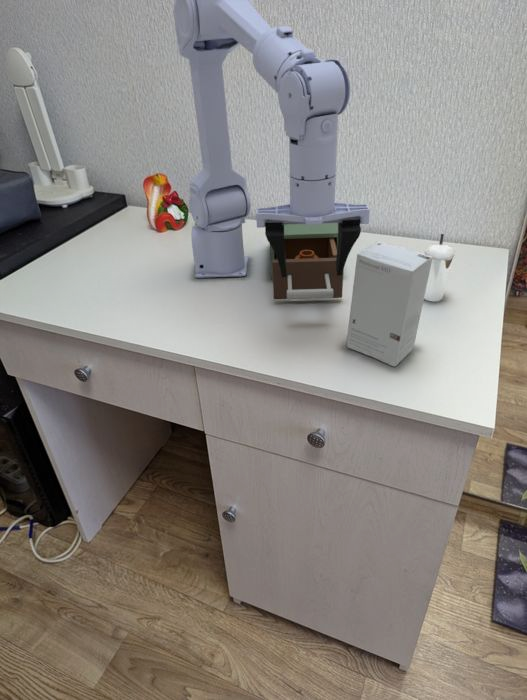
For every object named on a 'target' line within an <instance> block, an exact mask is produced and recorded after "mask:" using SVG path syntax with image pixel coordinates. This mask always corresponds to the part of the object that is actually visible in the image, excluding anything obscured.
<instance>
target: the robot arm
mask: <svg viewBox="0 0 527 700" xmlns="http://www.w3.org/2000/svg"><path fill="white" fill-rule="evenodd" d="M173 19H174V27H175V34H176V42H177V47H178V50H179V56H181V57H183V58H185V59H187V60H188V63H189V69H190V79H191V85H192V94H193V100H194V108H195V116H196V125H197V132H198V140H199V146H200V155H201V156H200V157H201V164H202V169H201V171H199V173H198V174H197V175H196V176H195V177H194V178H193V179H192V180H191V181H190V182H189V203H188V205H189V211H190V214H191V218H192V220H193V221H194V223H195V224H193V225H192V226H191V248H192V255H193V262H194V270H195V278H199V279H200V278H201V279H202V278H233V277H236V278H237V277H246V276H247V269H248V263H249V257H248V256H245V249H244V235H243V224H245V223H246V218H248V217H249V215H250V212H251V209H252V200H251V196H250V193H249V190H248V187H247V186H248V185H247V181H246V178H245V176H244V175H242V173H240V172H238V171H237V170H235V169H234V168H233V163H232V153H231V143H230V133H229V121H228V112H227V101H226V91H225V81H224V71H223V64H224V61H225V60H226V58H227V56H228V54H230V53H232V52H235V50H236V49H237V48H238V47H239V46H240V45H241V46H242V47H243V48H244V49H245V50H247V51H248V52H249V53H250V54H252V65H253V67H254V70H255V72H256V73H257V74H258V75H259V76H260V77H261V79H263V80H264V81H265V82H266V83H267V84H268V86H270V87H271V88H272V89H273V91H275V93H277V99H278V105H279V109H280V112H281V114H282V117H283V129H284V131H285V136H286V137H288V139H289V140H288V144H289V145H288V151H289V154H288V155H289V156H288V157H289V159H288V160H289V203H287V204H281V205H276V206H269V207H259V208H256V212H255V218H256V221H255V222H256V228H260V229H261V228H264V230H265V233H264V234H265V237H266V240H267V242H268V243H269V246H270V245H271V247H272V248H273V250H274V252H275V255H276V257H277V260H278V262H279V266H280V270H281V275H282V277H287V270H286V256H285V246H284V225H293V224H306V225H321V224H322V223H338V249H337V258H336V272H337V276H341V275H342V274H343V275H344V270H343V269H344V268H345V266H346V262H347V260H348V257H349V255H350V253H351V251H352V248H353V247H354V245H355V243H356V242H357V240H358V239H359V238H360V235H361V232H362V227H361V225H368V224H370V213H371V209H370V207H369V205H368V204H367V203H365V204H361V203H343V202H336V180H337V179H336V177H337V154H338V153H337V152H338V125H339V124H338V123H339V116H340V115H341V114H342V113H344V112H345V110H346V109H347V107H348V105H349V101H350V96H351V82H350V78H349V74H348V71H347V70H346V68H345V66H344V65H343V64H342V63H341V60H340V59H337V58H329V59H326V60H324V59H320V58H319V57H317V56H316V55H315V52H314V51H313V50H312V49H311V48H309V47H307V46H305V45H304V43H302V42H301V41H300V40H299V39H298V38H297V37H295V36H294V30H293V29H292V28H291V27H290V26H288V25H283V26H275V27H271V26H270V25H269V24H268V22H266V20H265V19H264V18H263V17H262V15H261V14H260V13H259V12H258V11H257V10H256V8H255V4H254V0H174V5H173Z"/></svg>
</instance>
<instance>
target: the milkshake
mask: <svg viewBox="0 0 527 700" xmlns="http://www.w3.org/2000/svg"><path fill="white" fill-rule="evenodd" d="M444 237H445V233H442V232H441V233H440V237H439V243H438V244H437V243H436V244H431V245H429V246H428V247H427V248H425V250H424V255H428V256H431V257H432V263H431V268H430V273H429V277H428V282H427V287H426V291H425V296H424V300H425V301H427V302H431V303H432V302H433V303H434V302H440V301H441V300H443V297H444V294H445V293H444V292H445V289H446V285H447V283H448V278H449V274H450V271H451V268H452V265H453V262H454V259H455V256H456V251H455V249H454V248H453V247H452V246H450V245H447V244H444Z"/></svg>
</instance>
